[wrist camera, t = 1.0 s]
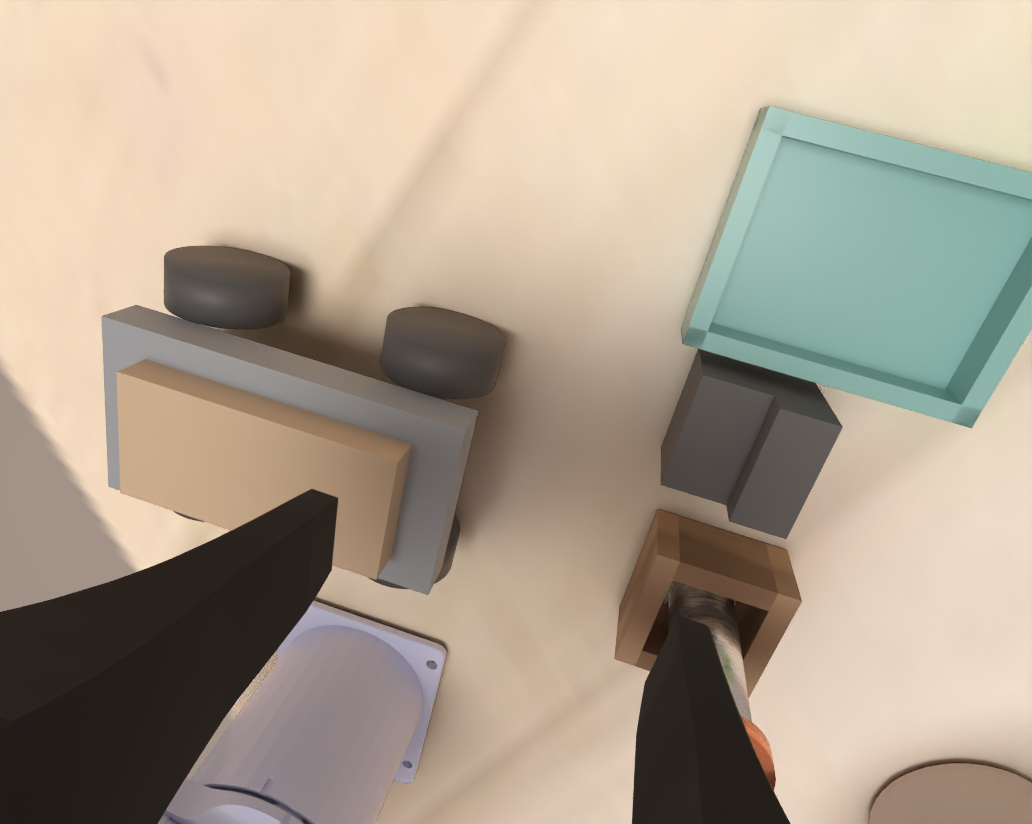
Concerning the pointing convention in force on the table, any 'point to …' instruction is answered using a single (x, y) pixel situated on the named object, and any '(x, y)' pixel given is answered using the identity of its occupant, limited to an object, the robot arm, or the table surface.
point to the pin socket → (707, 589)
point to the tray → (869, 266)
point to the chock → (748, 441)
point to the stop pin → (722, 652)
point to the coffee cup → (955, 797)
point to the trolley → (294, 415)
